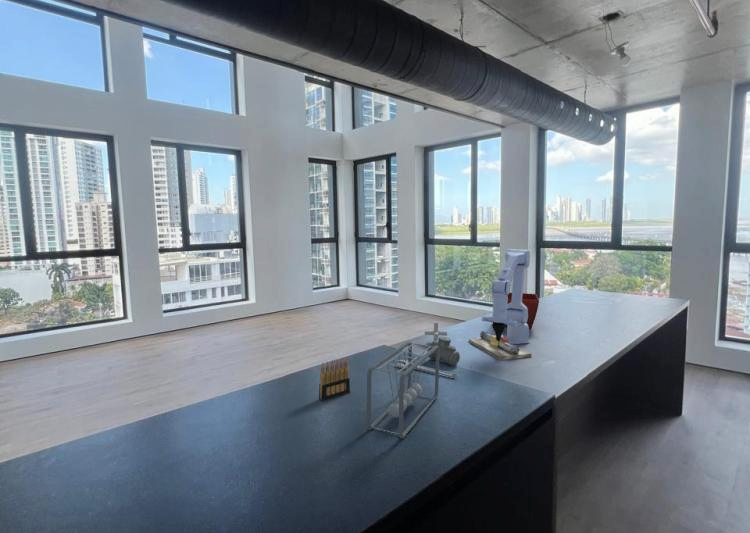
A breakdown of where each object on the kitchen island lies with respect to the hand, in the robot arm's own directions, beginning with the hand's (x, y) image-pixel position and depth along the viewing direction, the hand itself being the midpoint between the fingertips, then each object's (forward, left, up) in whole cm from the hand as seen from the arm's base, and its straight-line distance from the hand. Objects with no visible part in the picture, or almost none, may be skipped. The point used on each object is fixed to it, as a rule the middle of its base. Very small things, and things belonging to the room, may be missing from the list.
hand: (498, 340), depth 171 cm
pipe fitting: (+26, +2, -7) cm, 27 cm away
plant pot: (-38, -41, -7) cm, 56 cm away
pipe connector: (+19, -22, -7) cm, 30 cm away
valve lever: (-3, -3, 0) cm, 5 cm away
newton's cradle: (+56, +39, -7) cm, 68 cm away
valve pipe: (-5, -8, -7) cm, 12 cm away
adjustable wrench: (+37, +9, -7) cm, 39 cm away
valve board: (-5, -8, -7) cm, 12 cm away
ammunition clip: (+74, +22, -7) cm, 77 cm away
